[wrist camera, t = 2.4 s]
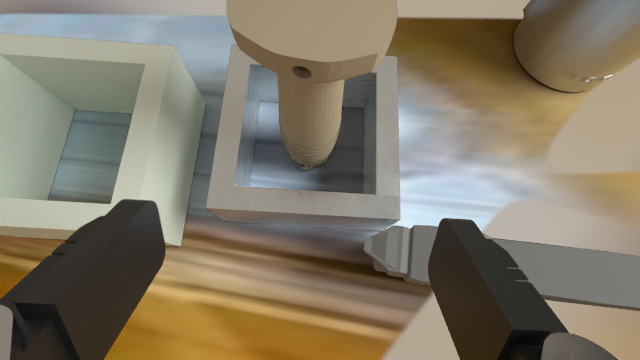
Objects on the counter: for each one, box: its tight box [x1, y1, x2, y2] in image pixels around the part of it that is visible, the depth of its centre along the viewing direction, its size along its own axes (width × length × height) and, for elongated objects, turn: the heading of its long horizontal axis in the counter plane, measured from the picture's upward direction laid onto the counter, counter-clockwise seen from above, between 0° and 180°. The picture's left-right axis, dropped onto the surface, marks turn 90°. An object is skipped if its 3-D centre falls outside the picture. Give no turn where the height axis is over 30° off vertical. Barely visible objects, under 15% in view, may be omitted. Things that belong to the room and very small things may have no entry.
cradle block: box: [0, 33, 206, 246], centre depth 22 cm, size 12×12×7 cm
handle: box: [227, 0, 398, 170], centre depth 19 cm, size 5×6×15 cm
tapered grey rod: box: [363, 225, 640, 311], centre depth 22 cm, size 3×25×15 cm, turn 81°
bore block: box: [206, 45, 400, 231], centre depth 24 cm, size 12×12×5 cm
